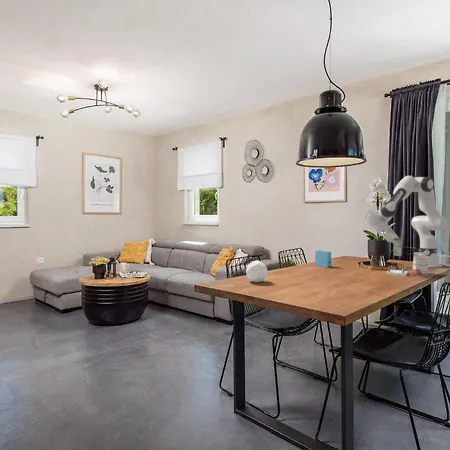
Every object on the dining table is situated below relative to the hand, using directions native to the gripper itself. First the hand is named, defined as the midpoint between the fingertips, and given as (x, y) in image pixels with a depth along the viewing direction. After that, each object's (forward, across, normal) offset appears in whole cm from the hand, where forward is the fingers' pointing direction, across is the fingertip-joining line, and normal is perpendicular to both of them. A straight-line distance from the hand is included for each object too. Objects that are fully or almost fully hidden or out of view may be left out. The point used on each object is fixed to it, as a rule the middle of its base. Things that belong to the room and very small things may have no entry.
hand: (398, 244), depth 254 cm
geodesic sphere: (-33, -79, +62) cm, 105 cm away
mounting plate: (+14, 0, +14) cm, 20 cm away
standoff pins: (+13, 0, +13) cm, 18 cm away
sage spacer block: (+5, 0, +6) cm, 7 cm away
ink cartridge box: (+23, +10, +6) cm, 26 cm away
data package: (-24, 0, +52) cm, 57 cm away
